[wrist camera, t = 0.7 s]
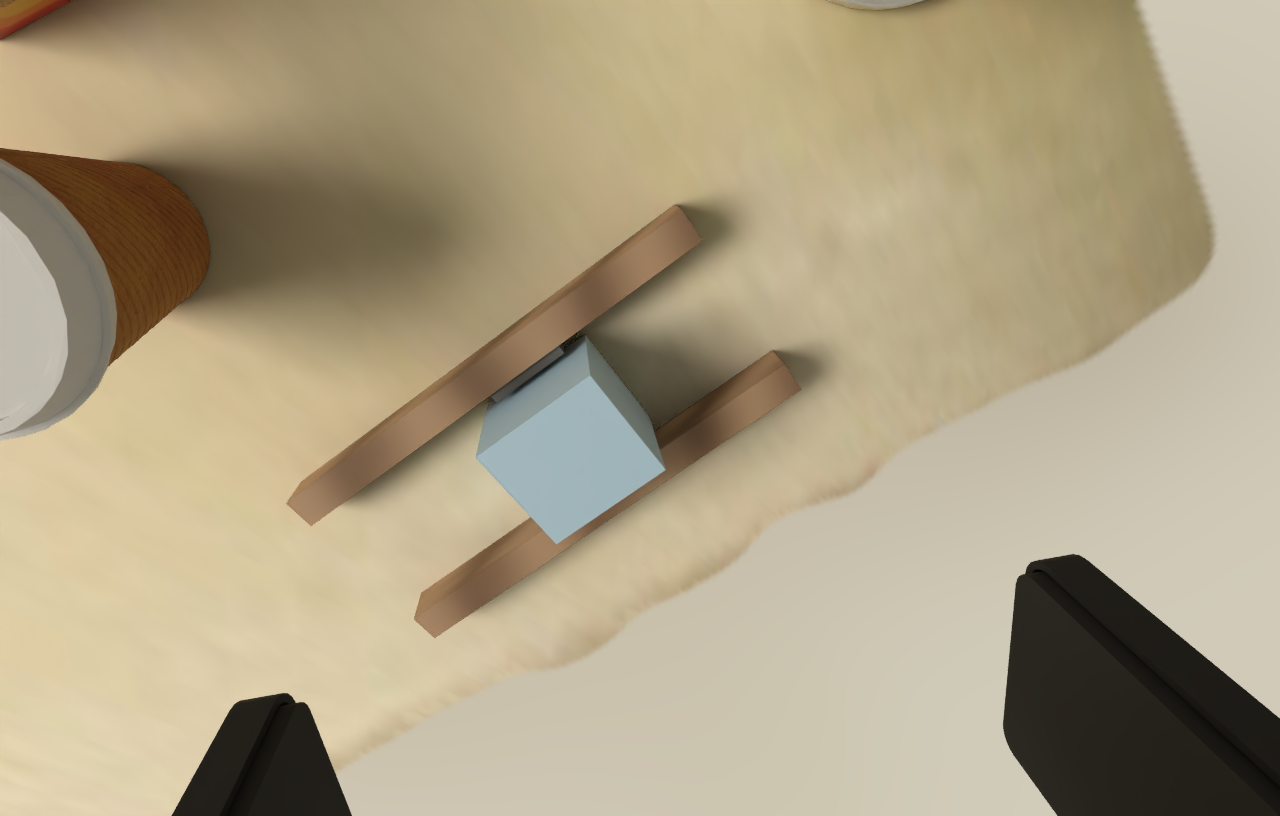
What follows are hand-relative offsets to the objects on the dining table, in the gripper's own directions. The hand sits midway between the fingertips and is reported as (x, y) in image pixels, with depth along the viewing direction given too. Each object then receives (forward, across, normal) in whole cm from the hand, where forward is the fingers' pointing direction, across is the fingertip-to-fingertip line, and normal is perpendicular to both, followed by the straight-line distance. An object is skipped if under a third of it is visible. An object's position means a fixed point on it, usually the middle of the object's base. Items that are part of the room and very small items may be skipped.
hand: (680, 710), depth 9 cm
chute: (+27, +3, +7) cm, 28 cm away
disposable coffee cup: (+27, +19, -5) cm, 33 cm away
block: (+27, +2, +6) cm, 27 cm away
